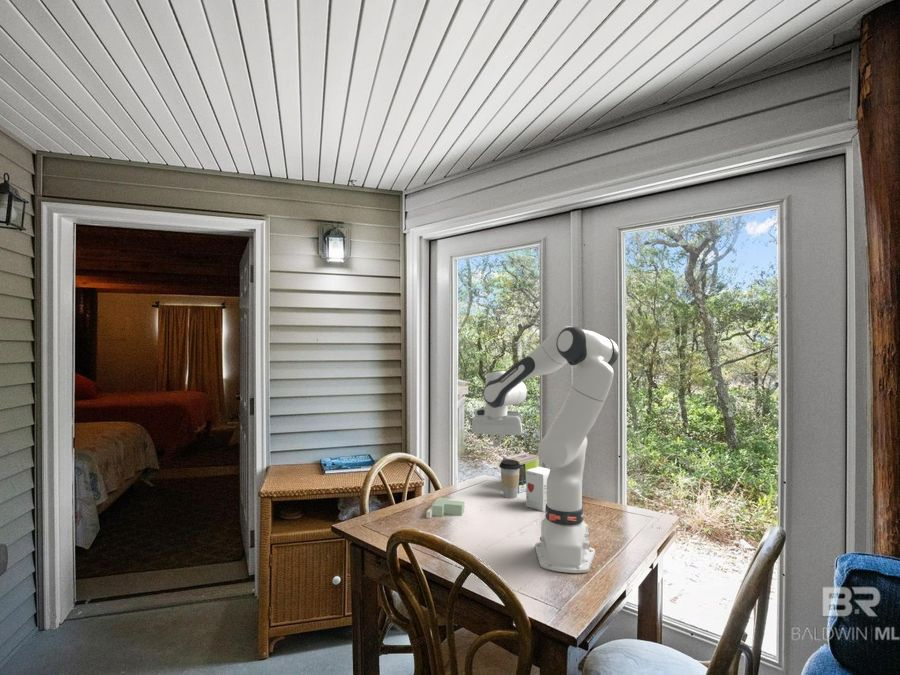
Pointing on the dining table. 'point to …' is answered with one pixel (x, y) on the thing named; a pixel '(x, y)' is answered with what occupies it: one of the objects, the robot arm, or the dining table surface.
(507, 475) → the coffee cup
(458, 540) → the dining table surface
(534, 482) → the supplement box
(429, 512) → the fence
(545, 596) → the dining table surface
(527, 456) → the tea box
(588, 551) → the robot arm
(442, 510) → the t block
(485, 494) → the dining table surface
